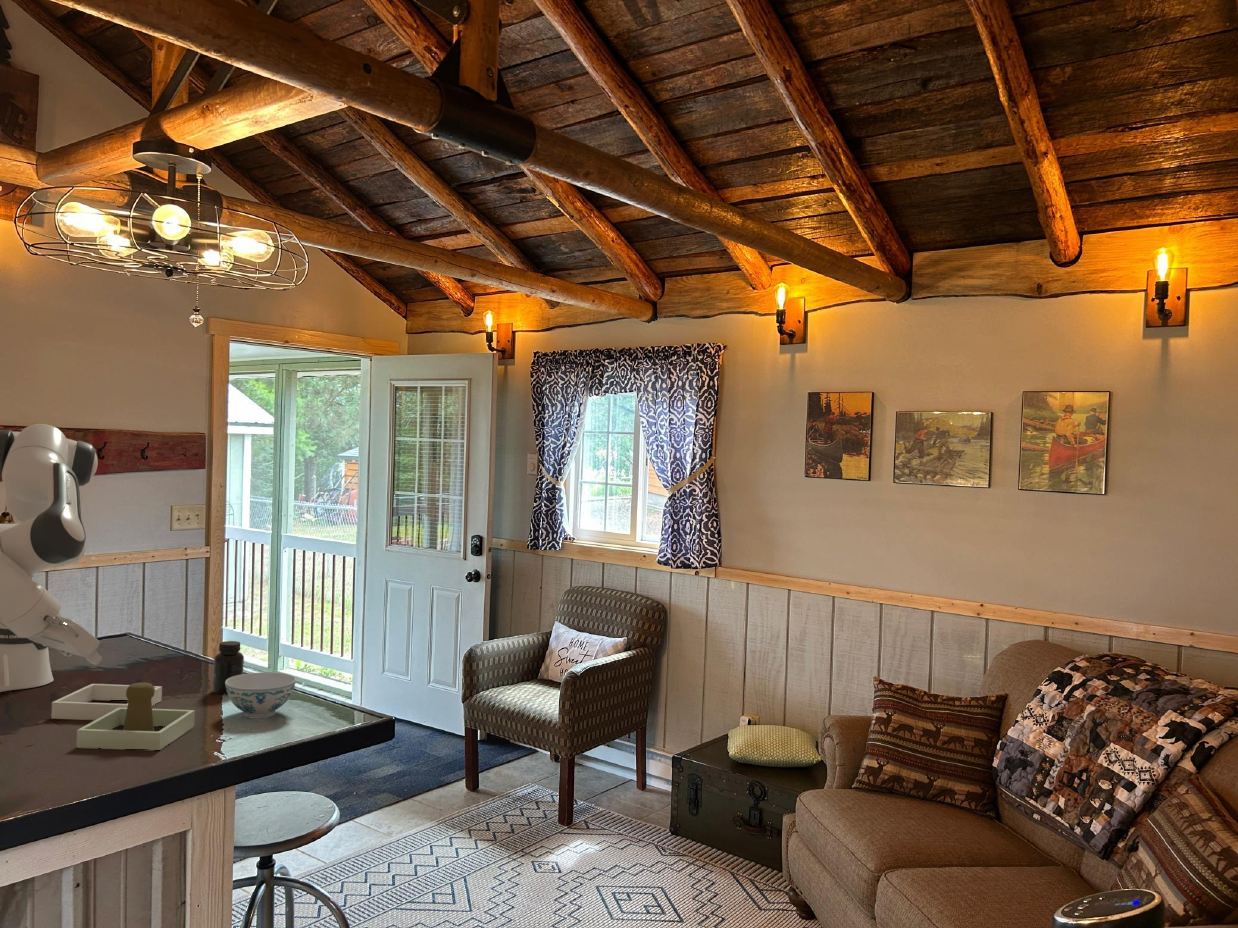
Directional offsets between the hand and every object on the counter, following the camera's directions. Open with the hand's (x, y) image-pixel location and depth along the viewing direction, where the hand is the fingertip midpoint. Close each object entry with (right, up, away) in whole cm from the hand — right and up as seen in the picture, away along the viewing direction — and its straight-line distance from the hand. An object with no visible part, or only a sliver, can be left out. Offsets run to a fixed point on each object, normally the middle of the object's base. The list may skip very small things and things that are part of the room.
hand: (84, 657), depth 176 cm
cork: (+6, -18, +9) cm, 21 cm away
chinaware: (+23, -19, +29) cm, 42 cm away
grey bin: (-10, -17, +27) cm, 34 cm away
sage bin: (+5, -18, +9) cm, 21 cm away
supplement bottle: (+8, -18, +47) cm, 51 cm away
